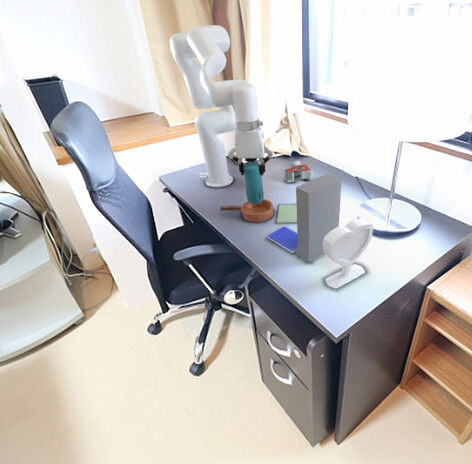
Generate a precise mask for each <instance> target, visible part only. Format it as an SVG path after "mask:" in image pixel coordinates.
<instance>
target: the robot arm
mask: <svg viewBox="0 0 472 464" xmlns="http://www.w3.org/2000/svg"><path fill="white" fill-rule="evenodd" d="M230 46H231V40H230V36H229V33H228V31H227V30H226V29H225V28H224V27H223V26H222V25H218V24H212V25H197V26H192V27H191V28H190V29H189V30H188V31H183V32H177V33H175V34H173V35H171V36H170V38H169V47H170V52H171V55H172V58H173V59H174V62H175V64H176V65H177V67H178V69H179V70H180V73H181V74H182V77H183V79H184V81H185V85H186V89H187V93H188V95H189V99H190V101H191V104H192V106H193V107H194V108H195V109H196V110H206V109H211V108H219V109H216V110H210V111H205V112H201V113H198V114H197V115H196V116H195V117H194V120H193V123H194V127H195V130H196V132H197V135H198V138H199V142H200V146H201V149H202V155H203V160H204V164H205V170H206V172H199V173H198V177H199V178H200V180H205V181H204V182H205V185H206V186H207V187H210V188H223V187H227V186H229V185H230V184H231V183H233V181H234V177H233V176H232V175H230V173H229V167H228V160H227V156H228V157H229V158H230V159H232V161H233V162H234V163H236V164H237V166H238V171H239V173H240V176H245V175H244V168H243V166H244V165H245V162H243V159H245V158H257V160H259V162H260V169H261V176H262V177H263V176H264V173H266V164H267V162H269V161H270V159H271V158H272V157H273V156H274V152H273V151H272V150H271V149H269V148H268V147H267V146H266V142H265V138H264V137H265V136H264V132H263V128H262V127H261V126H264V121H263V120H260V119H259V111H258V98H257V88H256V86H255V85H254V84H253V83H249V82H248V81H246V80H245V79H243V78H236V79H227V80H219V81H213V80H212V79H213V78H215V77H216V76H217V75H218V74H220V73H221V72H222V71H224V69H225V68H226V65H227V58H226V55H225V53H226V52H228V51H229V49H230ZM196 58H197V60H198V61H199V63H198V61H196V60H195V59H196ZM200 64H201V65H200ZM233 131H234V147H233V148H232V149H230V151H229V152H228V153H227V155H226V149H225V144H224V142H223V141H222V140H221V139H220V138H219V137H218V136H219V135H222V134H226V133H229V132H233ZM265 154H267V155H266V156H265Z"/></svg>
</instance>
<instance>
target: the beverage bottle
mask: <svg viewBox="0 0 472 464" xmlns="http://www.w3.org/2000/svg"><path fill="white" fill-rule="evenodd" d="M244 160H245V162H244V166H243V168H244V175H243V176H244V182H245V183H244V184H245V193H246V200H247V201H248V202H250V203H253V204H257V203H261V202H262V201H263V199H265V198H264V197H265V195H264V185H263V176H262V175H261V169H260V165H261V163H259V162H258V158H244Z"/></svg>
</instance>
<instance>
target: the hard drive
mask: <svg viewBox="0 0 472 464" xmlns="http://www.w3.org/2000/svg"><path fill="white" fill-rule="evenodd" d="M267 239H268V240H269V241H271V242H273V243H275V244H276V245H277V246H280V247H282V248H283V249H285V250H287V251H288V252H290V253H291V254H295V253H296V252H297V251H298V235H297V231H294V230H292V229H290V228H288V227H286V226H282V227H280V228H278V229H277V230H275V231H272V232H271V233H269V234H268V235H267Z"/></svg>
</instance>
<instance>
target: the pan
mask: <svg viewBox="0 0 472 464" xmlns="http://www.w3.org/2000/svg"><path fill="white" fill-rule="evenodd" d="M241 206H242V207H241V210H240V211H241V216H242V218H243V219H244V220H245V221H247V222H251V223H260V222H265V221H267V220H270V219H271V218H272V217H273V216H274V204H273V203H272V201H271V200H269V199H266V198H264V199H263V201H262V202H261V203H257V204H253V203H250V202H248V200H246V201H245V202H244V203H242V204H241Z"/></svg>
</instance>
